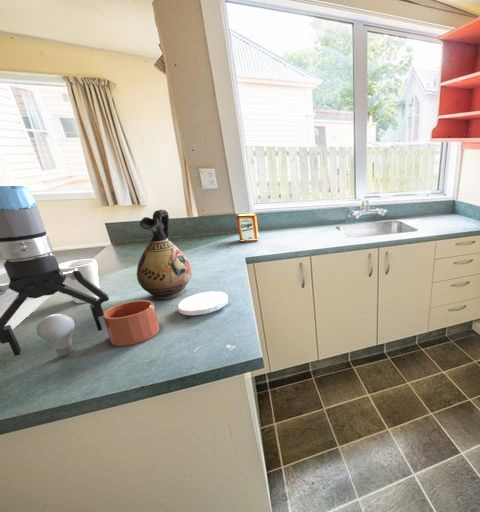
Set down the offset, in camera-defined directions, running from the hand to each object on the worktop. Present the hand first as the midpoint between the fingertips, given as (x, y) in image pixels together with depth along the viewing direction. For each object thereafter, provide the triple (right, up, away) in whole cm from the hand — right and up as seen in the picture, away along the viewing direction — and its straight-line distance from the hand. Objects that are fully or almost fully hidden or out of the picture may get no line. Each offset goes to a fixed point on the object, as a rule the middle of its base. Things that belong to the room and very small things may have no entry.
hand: (61, 340), depth 71 cm
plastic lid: (+19, +3, +26) cm, 32 cm away
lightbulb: (-1, -4, +2) cm, 5 cm away
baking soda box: (-3, +30, +106) cm, 110 cm away
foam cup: (-24, +5, +30) cm, 39 cm away
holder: (+9, -1, +10) cm, 14 cm away
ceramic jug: (+1, +7, +36) cm, 37 cm away
